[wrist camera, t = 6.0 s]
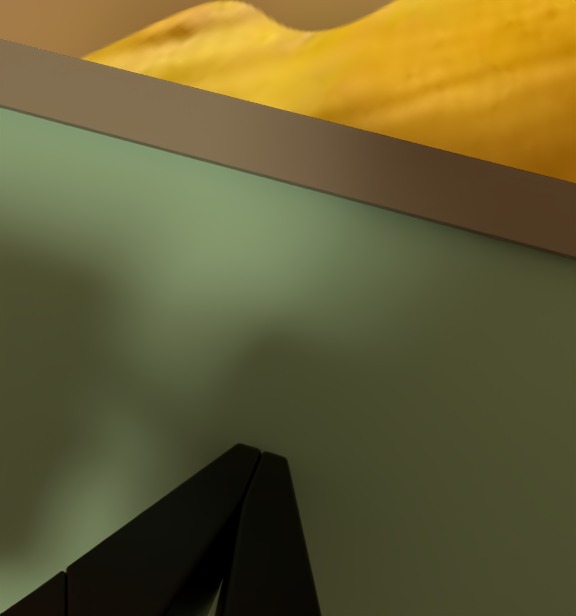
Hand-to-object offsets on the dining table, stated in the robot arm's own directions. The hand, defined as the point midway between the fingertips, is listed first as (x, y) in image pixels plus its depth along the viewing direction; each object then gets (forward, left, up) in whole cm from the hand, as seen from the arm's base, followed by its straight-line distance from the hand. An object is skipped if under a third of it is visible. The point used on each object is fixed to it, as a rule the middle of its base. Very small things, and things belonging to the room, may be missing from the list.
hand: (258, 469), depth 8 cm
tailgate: (-3, -3, -4) cm, 6 cm away
